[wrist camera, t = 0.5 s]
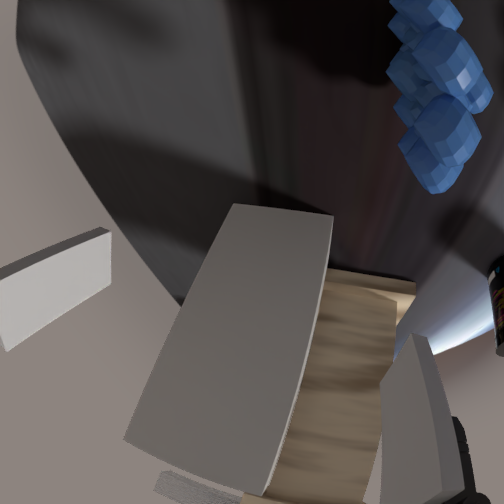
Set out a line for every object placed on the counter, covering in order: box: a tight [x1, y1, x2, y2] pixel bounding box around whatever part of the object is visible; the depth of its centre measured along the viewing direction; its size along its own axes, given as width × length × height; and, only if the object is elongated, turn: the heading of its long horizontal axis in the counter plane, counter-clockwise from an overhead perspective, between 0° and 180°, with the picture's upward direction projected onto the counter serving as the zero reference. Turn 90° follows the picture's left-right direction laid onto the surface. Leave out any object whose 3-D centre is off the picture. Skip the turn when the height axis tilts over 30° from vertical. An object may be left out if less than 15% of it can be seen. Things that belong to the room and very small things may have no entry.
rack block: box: [123, 203, 334, 496], centre depth 26 cm, size 8×11×26 cm
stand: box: [240, 268, 416, 504], centre depth 28 cm, size 10×14×32 cm
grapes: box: [386, 0, 493, 194], centre depth 10 cm, size 12×7×12 cm, turn 12°
